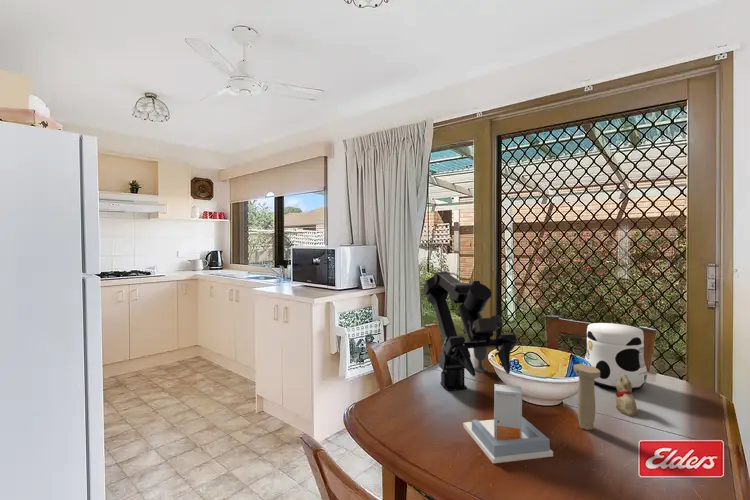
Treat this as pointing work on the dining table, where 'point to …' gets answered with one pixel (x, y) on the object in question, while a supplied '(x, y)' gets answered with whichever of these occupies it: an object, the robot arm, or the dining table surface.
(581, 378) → the handle
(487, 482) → the dining table surface
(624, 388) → the chocolate bunny
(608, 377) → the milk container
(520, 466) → the dining table surface
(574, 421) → the dining table surface
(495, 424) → the skincare box
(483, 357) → the sundae
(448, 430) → the dining table surface
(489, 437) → the stop cradle
